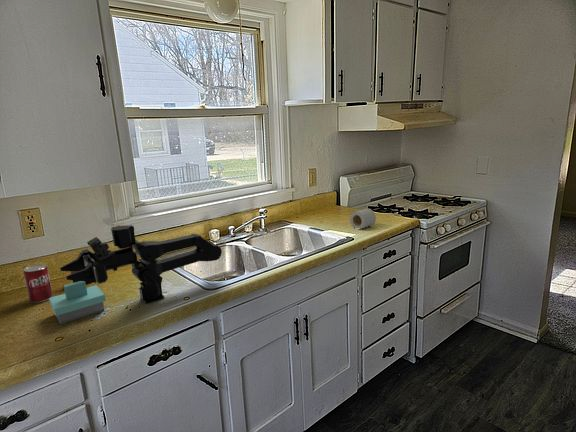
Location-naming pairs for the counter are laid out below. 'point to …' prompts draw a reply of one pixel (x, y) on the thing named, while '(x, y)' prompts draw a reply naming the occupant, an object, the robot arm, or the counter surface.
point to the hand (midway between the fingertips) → (63, 273)
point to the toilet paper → (362, 218)
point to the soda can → (38, 283)
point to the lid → (76, 298)
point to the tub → (80, 313)
